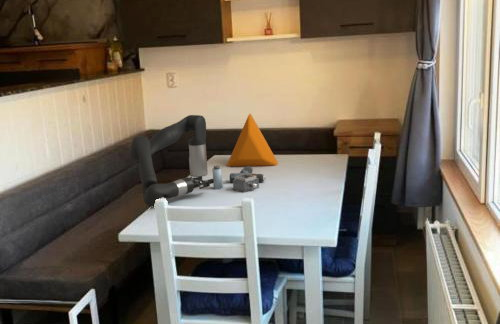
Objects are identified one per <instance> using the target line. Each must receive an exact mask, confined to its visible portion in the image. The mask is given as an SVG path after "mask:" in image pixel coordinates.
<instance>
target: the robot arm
mask: <svg viewBox="0 0 500 324" xmlns="http://www.w3.org/2000/svg"><path fill="white" fill-rule="evenodd" d="M189 132H190V133H194V134H193V135H194V136H193V137H191V138H189V139H188V149H189V151H188V152H189V157H188V163H189V174H190V177H188V176H187V177H183V178H180V179H176V180H173V181H172V182H168V183H158V180H157V175H156V172H155V168H154V163H153V159H152V157H153V156H152V155H154V154H156V152H158V151H161V150H163V149H164V148H166V147H168V146H170V145H173V144H175V143H176V142H178V141H179V140H180V139H181V136H182V135H184V134H186V133H189ZM206 140H207V122H206V119H205V117H204V115H199V114H189V115H187V116H185V117H184V118H182V119H180V120H179V121H177V122H174V123H173V124H170V125H168V126H166V127H164V128H160V130H158V131H156V133H155V134H154V135H153V136H152V137H151V138H150V139H148V137H146V136H144V135H137V136H135V137H134V138H133V140H132V141H131V144H130V148H129V150H128V154H129V157H130V159H131V160H133V161H135V162H139V165H138V166H139V168H138V169H139V170H138V171H139V177H140V178H139V179H140V180H141V185H142V198H143V202H144V203H145V205H146V206H148V207H151V208H154V207H155V206H154V203H155V200H156V199H159V198H160V199H162V198H164V199H165V200H167V199H169V200H170V199H172V198H175V197H181V196H184V195H188V194H190V193H192V192H193V191H194V190H195V189H198V188H199V190H200V189H205V188H208V187H210V186H211V185H213V183H214V179H213V178H210V179H206V180H205V179H203V176H206V175H208V172H209V171H208V159H207V146H206V144H207V143H206Z"/></svg>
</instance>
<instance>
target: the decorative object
mask: <svg viewBox="0 0 500 324" xmlns="http://www.w3.org/2000/svg"><path fill="white" fill-rule="evenodd" d="M278 165H279V162H278V160H277V158H276V156H275V155H274V153H273V151H272V150H271V147H270V146H269V143H268V142H267V140H266V139H265V137H264V135H263V133H262V132H261V129H260V128H259V126H258V124H257V122H256V121H255V119H254V116H253V115H252V114H251V113H249V114H248V115H247V117H246V120H245V123H244V125H243V127H242V129H241V131H240V134H239V136H238V138H237V141H236V144H235V145H234V148H233V150H232V153H231V154H230V158H229V159H228V161H227V165H226V167H231V166H232V167H246V166H251V167H263V166H264V167H266V166H267V167H268V166H269V167H270V166H278ZM232 167H231V168H232Z"/></svg>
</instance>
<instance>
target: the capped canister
mask: <svg viewBox="0 0 500 324" xmlns="http://www.w3.org/2000/svg"><path fill="white" fill-rule="evenodd" d="M211 171H212V179H214V183H212V185H213V190H222V189H223V188H224V187H223V186H224V183H223V175H222V174H223V171H222V167H220V165H214V166H213V168H212V170H211ZM221 188H222V189H221Z"/></svg>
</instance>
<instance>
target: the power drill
mask: <svg viewBox="0 0 500 324" xmlns="http://www.w3.org/2000/svg"><path fill="white" fill-rule="evenodd" d="M253 171H254V170H253V166H243V168H242V169H241V170H240V172H233V173H232V172H231V173H230V174H229V183H230V184H233V180H235V177H236V176H239V175H242V174H251V175H256V178H259V183H263V182H265V181H266V179H267V177H266V175H264V174H263V173H253Z"/></svg>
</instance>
